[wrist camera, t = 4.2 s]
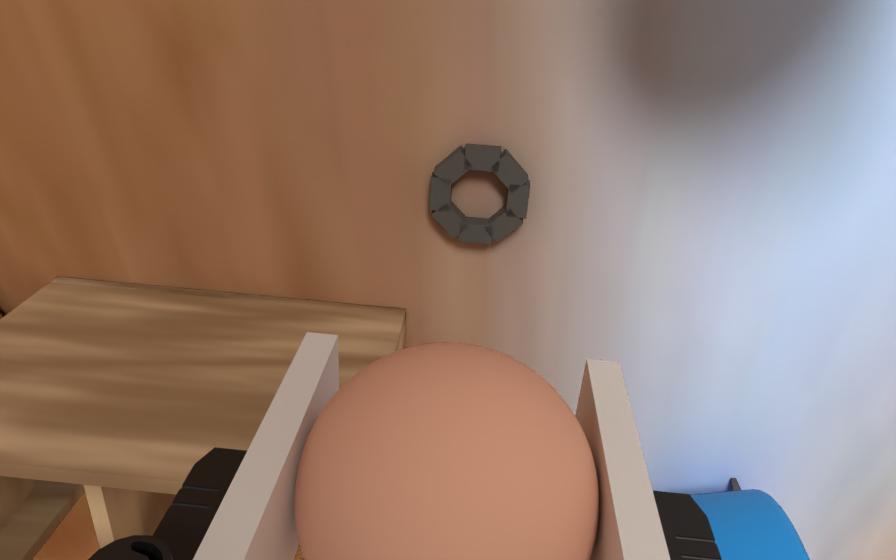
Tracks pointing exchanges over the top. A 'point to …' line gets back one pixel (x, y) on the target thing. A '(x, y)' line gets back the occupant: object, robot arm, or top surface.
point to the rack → (145, 393)
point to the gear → (481, 161)
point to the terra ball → (446, 464)
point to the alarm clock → (750, 525)
